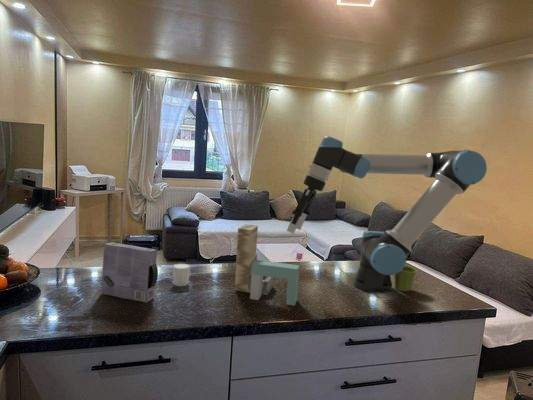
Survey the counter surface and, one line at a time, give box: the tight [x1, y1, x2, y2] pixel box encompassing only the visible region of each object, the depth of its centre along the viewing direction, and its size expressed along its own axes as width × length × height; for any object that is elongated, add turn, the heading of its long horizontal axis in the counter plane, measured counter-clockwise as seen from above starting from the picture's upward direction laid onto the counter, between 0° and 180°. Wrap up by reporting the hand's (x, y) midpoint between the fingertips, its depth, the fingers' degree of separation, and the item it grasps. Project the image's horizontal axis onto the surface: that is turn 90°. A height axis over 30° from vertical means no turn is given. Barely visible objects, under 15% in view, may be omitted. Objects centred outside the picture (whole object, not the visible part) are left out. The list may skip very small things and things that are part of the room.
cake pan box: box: [100, 241, 159, 304], centre depth 132 cm, size 19×5×18 cm, turn 74°
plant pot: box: [394, 265, 418, 292], centre depth 159 cm, size 9×9×9 cm
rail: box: [249, 259, 300, 306], centre depth 138 cm, size 16×5×13 cm, turn 76°
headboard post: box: [234, 224, 274, 296], centre depth 147 cm, size 12×10×24 cm
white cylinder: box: [171, 263, 191, 287], centre depth 149 cm, size 7×7×7 cm
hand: (293, 230), depth 145 cm, fingers open, 13 cm apart
